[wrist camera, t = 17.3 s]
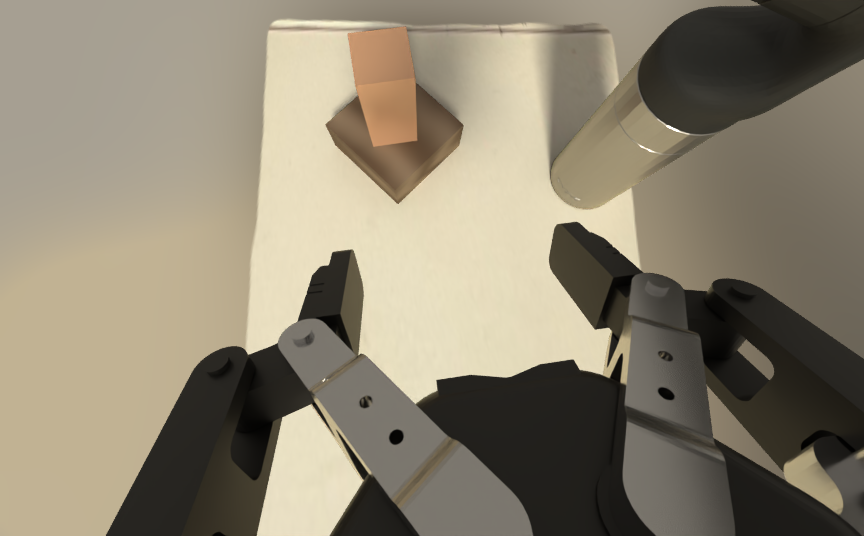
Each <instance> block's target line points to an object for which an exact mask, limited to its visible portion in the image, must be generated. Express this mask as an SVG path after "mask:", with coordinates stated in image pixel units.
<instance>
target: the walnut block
mask: <svg viewBox="0 0 864 536" xmlns="http://www.w3.org/2000/svg"><path fill="white" fill-rule="evenodd" d="M415 83H416V82H415ZM416 114H417V141H411V142H404V143H397V144H390V145H383V146H375V147H373V144H372V140H371V137H370V134H369V130H368V127H367V123H366V120H365V117H364V113H363V110H362V106H361V103H360V99H359V96H358V97H356V98H355V99H354V100H353V101H352V102H351V103H350V104H348V105H347V106H346V107H345V108H344V109H343V110H342V111H340V112H339V113H338V114H337V115H336V116H335V117H333V118H332V119H331V120H330V121H329V122H328V123H327V124H325V125H326V127H327V129H328V131H329V133H330V135H331V137H332V139H333V141H334V143H335V145H336V146H337V147H338V148H339V149H340V150H341V151H342V152H343V153H344V154H345V155H346V156H348V157H349V158H350V159H351V160H352V161H353V162H354V163H355V164H356V165H357V166H358V167H359V168H360V169H361V170H362V171H363V172H364V173H366V174H367V175H368V176H369V177H370V178H371V179H372V180H373V181H374V182H375V183H376V184H377V185H378V186H379V187H380V188H381V189H383V190H384V191H385V192H386V193H387V194H388V195H389V196H390V197H391V198H392V199H393V200H394V201H395V202H396V203H397V204H399V203H400V202H401V201H402V200H403V199H404V198H405V197H406V196H407V195H408V194H409V193H410V192H411V191H412V190H413V189H414V188H415V187H416V186H417V185H418V184H419V183H421V182H422V181H423V180H424V179H425V178H426V177H427V176H428V175H429V174H430V173H431V172H432V171H433V170H434V169H435V168H436V167H437V166H438V165H439V164H440V163H441V162H442V161H443V160H444V159H446V158H447V157H448V156H449V155H450V154H451V153H452V152H453V151H454V150H455V149H456V148H457V147H458V146H459V144H460V139H461V135H462V130H463V126H464V125H463V124H462V123H461V122H460V121H458V120H457V119H456V118H455V117H454V116H453V115H452V114H451V113H450V112H448V111H447V110H446V109H445V108H444V107H443V106H442V105H441V104H439V103H438V102H437V101H436V100H435V99H434V98H433V97H432V96H430V95H429V94H428V93H427V92H426V91H425V90H424V89H423V88H421V87H420V86H419V85H418V84H417V83H416Z"/></svg>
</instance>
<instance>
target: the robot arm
mask: <svg viewBox="0 0 864 536" xmlns="http://www.w3.org/2000/svg"><path fill="white" fill-rule="evenodd" d="M752 1H754V2H757V3H758V4H760V5H759V6H719V7H708V8H703V9H699V10H696V11H693V12H690V13H688V14H686V15H684V16H682V17H680V18H679V19H677V20H676V21H674V22H673V23H672V24H671V25H670V26H668V27H667V29H665V31H664V32H663V33H662V34H661V35H660V36H659V37H658V38H657V39H656V41H655V42H654V43H653V44H652V45H651V47H650V48H649V49H648V50H647V51H646V53H645V54H644V55H643V56H642V57H641V58H640V59H639V61H638V62H637V63H636V64H635V65H634V67H633V68H632V69H631V70H630V71H629V72H628V74H627V75H626V76H625V77H624V78H623V80H622V81H621V82H620V83H619V84H618V86H617V87H616V88H615V89H614V90H613V92H612V93H611V94H610V95H609V96H608V97H607V99H606V100H605V101H604V102H603V103H602V105H601V106H600V107H599V108H598V109H597V110H596V112H595V113H594V114H593V115H592V116H591V118H590V119H589V120H588V121H587V122H586V123H585V125H584V126H583V127H582V128H581V129H580V130H579V132H578V133H577V134H576V135H575V136H574V138H573V139H572V140H571V141H570V142H569V143H568V145H567V146H566V147H565V148H564V149H563V151H562V152H561V153H560V154H559V155H558V157H557V158H556V159H555V161H554V163H553V165H552V168H551V181H552V185H553V187H554V190H555V192H556V193H557V194H558V196H559V197H560V198H561V199H562V200H563V201H564V202H566V203H568V204H569V205H571V206H573V207H576V208H580V209H593V208H597V207H599V206H601V205H603V204H605V203H607V202H608V201H610V200H612V199H613V198H615V197H616V196H618V195H620V194H622V193H623V192H625V191H626V190H628V189H630V188H631V187H633V186H634V185H636V184H638V183H639V182H641V181H642V180H644V179H646V178H647V177H649V176H651V175H652V174H654V173H655V172H657V171H659V170H660V169H662V168H663V167H665V166H667V165H668V164H670V163H671V162H673V161H675V160H676V159H678V158H680V157H681V156H683V155H684V154H686V153H688V152H689V151H691V150H692V149H694V148H695V147H697V146H699V145H700V144H702V143H703V142H705V141H707V140H708V139H710V138H712V137H713V136H715V135H716V134H718V133H720V132H721V131H723V130H724V129H726V128H728V127H730V126H731V125H733V124H734V123H736V122H738V121H741V120H745V119H749V118H752V117H755V116H757V115H760V114H763V113H765V112H767V111H769V110H771V109H773V108H774V107H776V106H778V105H780V104H782V103H784V102H786V101H787V100H789V99H791V98H793V97H794V96H796V95H798V94H800V93H801V92H803V91H805V90H807V89H809V88H811V87H813V86H814V85H816V84H818V83H820V82H822V81H824V80H825V79H827V78H829V77H831V76H833V75H835V74H836V73H838V72H840V71H842V70H844V69H846V68H848V67H849V66H851V65H853V64H855V63H857V62H859V61H861V60H863V59H864V0H752ZM549 264H550V268H551V270H552V272H553V274H554V275H555V276H556V278H557V279H558V280H559V282H560V283H561V284H562V286H563V287H564V288H565V290H566V291H567V292H568V294H569V295H570V296H571V298H572V299H573V301H574V302H575V303H576V305H577V306H578V307H579V309H580V310H581V311H582V313H583V314H584V315H585V317H586V318H587V319H588V321H589V322H590V324H591V325H592V326H593V328H594V329H602V328H610V329H611V333H610V336H609V340H608V346H607V352H606V358H605V365H604V371H603V375H600V374H596V373H593V372H588V371H583V370H579V368H578V366H577V365H576V363H575V361H574V360H566V361H560V362H553V363H546V364H540V365H538V366H535V367H533V368H531V369H528V370H526V371H524V372H521V373H519V374H517V375H515V376H512V377H508V378H503V377H491V376H478V375H467V376H460V377H454V378H447V379H441V380H436V381H437V390H438V391H436V392H434V393H432V394H430V395H428V396H426V397H425V398H423V399H422V400H420V401H419V402H418V403H416V404H415V403H414V402H412V401H411V400H410V399H409V398H408V397H407V396H406V395H405V394H404V393H403V392H402V391H401V390H400V389H399V388H398V387H397V386H396V385H395V384H394V383H393V382H392V381H391V380H390V379H389V378H388V377H387V376H386V375H385V374H384V373H383V372H382V371H381V370H380V369H379V368H378V367H377V366H376V365H375V364H374V363H373V362H372V361H371V360H370V359H369V358H368V357H367V356H365V355H364V354H360V355H359V356H358V352H359V341H360V330H361V319H362V308H363V297H364V292H363V284H362V279H361V276H360V272H359V268H358V264H357V260H356V257H355V253H354V251H353V250H344V251H336V252H333V253H332V256H331V260H330V264H329V265H328V266H321V267H320V268H319V269H318V270H317V271H316V272H315V273H314V274H313V275H312V278H311V281H310V284H309V286H310V287H308V291H307V295H306V297H305V300H304V303H303V306H302V309H301V312H300V315H299V318H298V322H296V323H294V324H293V325H291V326H289V327H288V328H287V329H286V330H285V331H284V332H283V333H282V334H281V336H280V338H279V341H278V343H277V344H275V345H273V346H271V347H268V348H266V349H263V350H260V351H258V352H255V353H252V354H250V355H248V354H247V352H246V351H245V349H243V348H241V347H237V346H231V347H226V348H222V349H220V350H217V351H215V352H213V353H211V354H210V355H208V356H207V357H205V358H204V359H203V360H202V361H201V362H200V363H199V364H198V365H197V366H196V367H195V368H194V370H193V372H192V373H191V375H190V377H189V379H188V381H187V383H186V385H185V387H184V389H183V391H182V392H181V394H180V396H179V398H178V400H177V402H176V404H175V406H174V408H173V409H172V411H171V413H170V415H169V417H168V419H167V421H166V423H165V425H164V426H163V428H162V430H161V432H160V434H159V436H158V438H157V440H156V442H155V444H154V446H153V447H152V449H151V451H150V453H149V455H148V457H147V459H146V461H145V462H144V464H143V467H142V468H141V470H140V472H139V474H138V476H137V478H136V480H135V481H134V483H133V485H132V487H131V489H130V491H129V493H128V495H127V497H126V498H125V500H124V502H123V504H122V506H121V508H120V510H119V512H118V514H117V516H116V517H115V519H114V521H113V523H112V525H111V527H110V529H109V531H108V533H107V534H106V536H257V531H258V526H259V522H260V517H261V513H262V508H263V504H264V499H265V494H266V490H267V485H268V481H269V476H270V471H271V467H272V462H273V458H274V453H275V449H276V444H277V439H278V435H279V430H280V426H281V421H282V417H284V416H286V415H288V414H290V413H293V412H295V411H297V410H299V409H301V408H304V407H306V406H308V405H310V404H311V406H312V407H313V409H314V410H315V411H316V413H317V414H318V416H319V417H320V419H321V420H322V422H323V423H324V424H325V426H326V427H327V429H328V430H329V432H330V433H331V434H332V436H333V437H334V439H335V440H336V442H337V443H338V445H339V446H340V448H341V449H342V451H343V452H344V454H345V456H346V457H347V459H348V460H349V462H350V464H351V465H352V467H353V468H354V470H355V471H356V472H357V474H358V475H359V477H360V478H361V480H362V481H363V483H362V485H361V486H360V488H359V489H358V491H357V493H356V494H355V496H354V497H353V499H352V501H351V502H350V504H349V505H348V507H347V509H346V510H345V512H344V513H343V515H342V517H341V518H340V520H339V521H338V523H337V525H336V526H335V528H334V529H333V531H332V533H331V534H330V536H864V359H863V358H861V357H860V356H859V355H857V354H856V353H854V352H853V351H851V350H850V349H848V348H847V347H846V346H844V345H843V344H841V343H840V342H838V341H837V340H835V339H834V338H833V337H831V336H829V335H828V334H827V333H825V332H824V331H822V330H821V329H819V328H818V327H817V326H815V325H814V324H812V323H811V322H809V321H808V320H806V319H805V318H804V317H802V316H801V315H799V314H798V313H796V312H795V311H793V310H792V309H790V308H789V307H788V306H786V305H785V304H783V303H782V302H780V301H779V300H777V299H776V298H775V297H773V296H772V295H770V294H769V293H767V292H766V291H764V290H763V289H761V288H759V287H757V286H755V285H753V284H751V283H748V282H744V281H741V280H736V279H718V280H716V281H714V282H713V283H712V285H711V287H710V288H709V290H708V291H695V290H684V289H683V288H682V287H681V285H680V284H678V283H677V282H676V281H674V280H672V279H670V278H668V277H665V276H663V275H659V274H654V273H643V272H642V271H641V270H640V269H639V268H637V267H636V266H635V265H634V264H633V263H632V262H631V261H629V260H628V259H627V258H626V257H625V256H624V255H623V254H620V252H619V251H618V250H617V249H616V248H615V247H613V246H612V245H611V244H610V243H609V242H608V241H607V240H605V239H604V238H602V237H600V236H598V235H596V234H594V233H592V232H589V231H588V230H586V229H585V228H584V227H583V226H582V225H581V224H580V223H578V222H571V223H563V224H557V225H556V227H555V229H554V234H553V239H552V245H551V250H550V255H549ZM746 339H747V340H748V341H749V342H750V343H751V344H752V345H753V346H755V347H756V348H757V349H758V350H759V351H761V352H762V353H763V354H764V355H765V356H766V357H767V358H768V359H769V360H770V361H771V363H772V364H773V367H774V376H773V377H772V379H771V380H768V379H767V378H766V377H765V376H764V375H763V374H762V373H761V372H760V371H759V370H758V369H756V368H755V367H754V366H753V365H752V364H751V363H750V362H749V361H748V360H747V359H746V358H744V356H743V355H741V354H740V353H739V352H738V351H737V350H738V348H739V347H740V346H741V345H742V343H743V342H744V341H745V340H746ZM706 384H707V386H708V387H709V388H710V389H711V390H712V391H713V392H714V394H715V395H716V396H717V397H718V398H719V399H720V400H721V402H722V403H723V404H724V405H725V406H726V407H727V408H728V409H729V411H730V412H731V413H732V414H733V415H734V416H735V417H736V419H737V420H738V421H739V422H740V423H741V424H742V425H743V427H744V428H745V429H746V430H747V431H748V432H749V433H750V435H751V436H752V437H753V438H754V439H755V440H756V441H757V442H758V444H759V445H760V446H761V447H762V448H763V449H764V450H765V452H766V453H767V454H768V455H769V456H770V457H771V459H772V460H773V461H774V462H775V463H776V464H777V465H778V466H779V468H780V469H781V470H782V471H783V472H784V475H785V478H786V480H787V481H785V480H784V479H782V478H780V477H779V476H776V475H775V474H773V473H772V472H770V471H768V470H766V469H765V468H763V467H761V466H760V465H758V464H756V463H755V462H753V461H751V460H750V459H748V458H746V457H745V456H743V455H741V454H740V453H738V452H736V451H734V450H732V449H731V448H729V447H728V446H726V445H724V444H723V443H721V442H719V441H718V440H716V439H714V438H713V434H712V426H711V418H710V410H709V402H708V394H707V387H706Z"/></svg>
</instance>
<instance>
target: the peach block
mask: <svg viewBox="0 0 864 536" xmlns="http://www.w3.org/2000/svg"><path fill="white" fill-rule="evenodd" d="M348 39H349V46H350V52H351V59H352V66H353V72H354V79H355V86H356V89H357V93H358V96H359V99H360V103H361V106H362V110H363V113H364V117H365V120H366V123H367V127H368V130H369V134H370V137H371V140H372V144H373V147H375V146H383V145H390V144H397V143H404V142H411V141H417V114H416V83H415V73H414V68H413V62H412V57H411V51H410V46H409V40H408V35H407V29H406V27H397V28H389V29H381V30H373V31H364V32H356V33H348Z"/></svg>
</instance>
